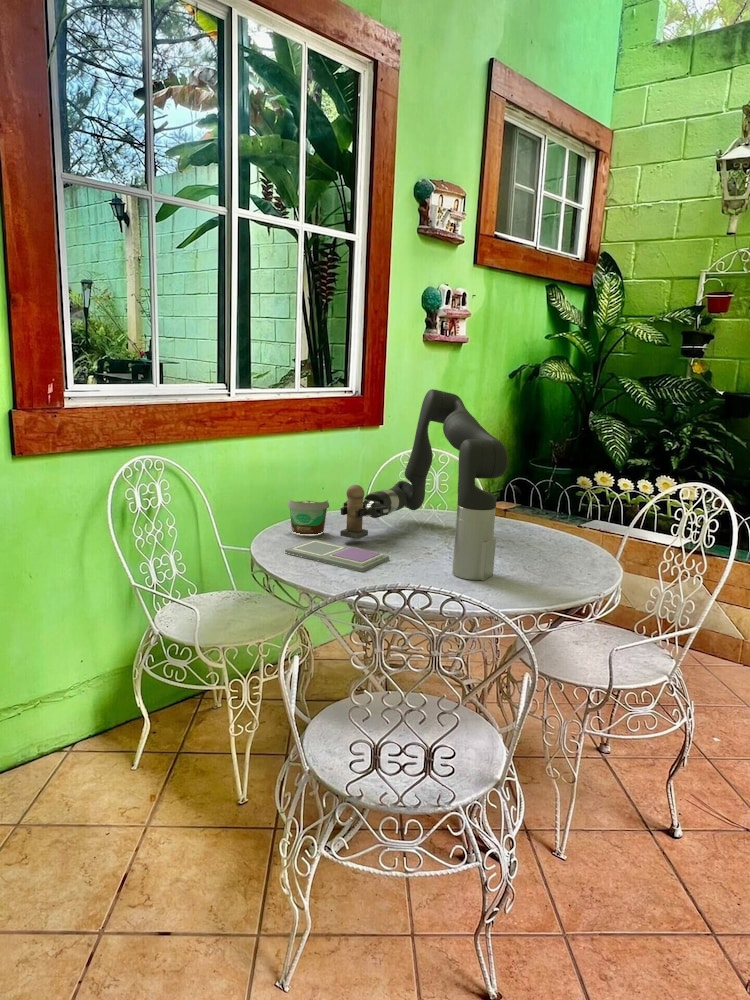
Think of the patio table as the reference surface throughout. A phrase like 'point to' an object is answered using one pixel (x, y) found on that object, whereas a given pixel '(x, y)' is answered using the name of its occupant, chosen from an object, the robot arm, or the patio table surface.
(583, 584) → the patio table surface
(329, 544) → the stamping board
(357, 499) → the stamp
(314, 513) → the food container
